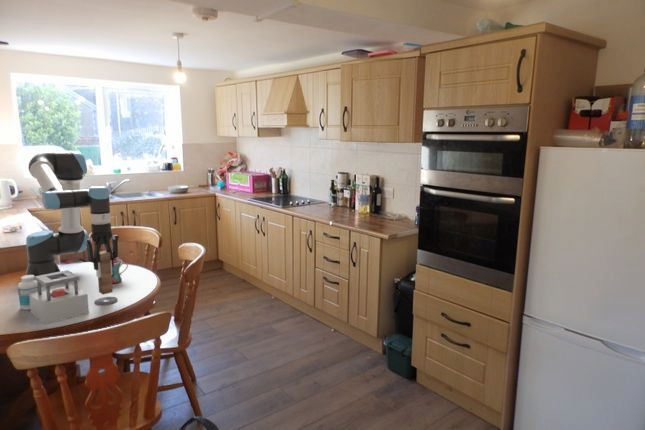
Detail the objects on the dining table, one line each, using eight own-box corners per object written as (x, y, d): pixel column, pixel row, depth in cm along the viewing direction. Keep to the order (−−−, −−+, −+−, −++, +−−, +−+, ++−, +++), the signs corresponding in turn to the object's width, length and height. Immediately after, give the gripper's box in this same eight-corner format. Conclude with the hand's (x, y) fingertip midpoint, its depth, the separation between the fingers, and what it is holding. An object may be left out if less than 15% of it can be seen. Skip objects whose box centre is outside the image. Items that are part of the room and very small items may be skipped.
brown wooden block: (99, 292, 187) (96, 252, 184) (108, 290, 190) (105, 250, 187) (103, 294, 185) (100, 254, 182) (112, 292, 188) (109, 252, 185)
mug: (102, 285, 208) (100, 264, 206) (102, 280, 216) (100, 259, 214) (129, 282, 214) (128, 262, 212) (128, 277, 222) (127, 257, 220)
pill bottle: (26, 303, 184) (23, 273, 181) (45, 303, 184) (42, 273, 182) (16, 310, 176) (12, 279, 174) (35, 310, 177) (32, 279, 175)
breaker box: (30, 312, 174) (27, 276, 172) (73, 302, 187) (70, 268, 184) (44, 324, 164) (41, 285, 162) (88, 312, 176) (86, 276, 174)
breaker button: (51, 309, 175) (50, 290, 174) (63, 306, 178) (62, 288, 177) (55, 312, 172) (54, 293, 171) (67, 309, 176) (66, 290, 174)
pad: (91, 301, 188) (91, 300, 188) (111, 296, 195) (111, 295, 195) (99, 307, 182) (99, 305, 182) (121, 301, 189) (121, 300, 189)
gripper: (83, 226, 174) (87, 281, 178) (125, 221, 187) (127, 273, 190) (75, 224, 178) (80, 278, 182) (117, 219, 191) (120, 269, 195)
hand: (104, 275), depth 186 cm, fingers closed on brown wooden block, 4 cm apart
